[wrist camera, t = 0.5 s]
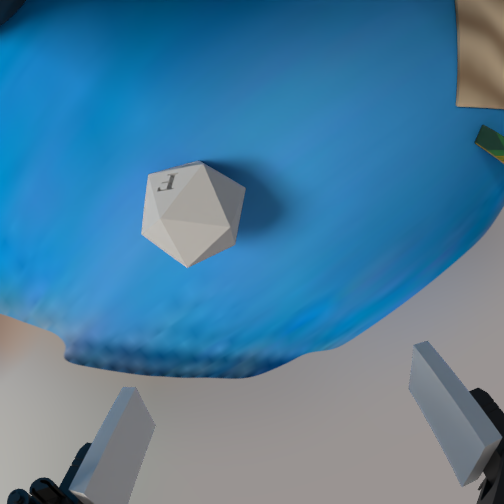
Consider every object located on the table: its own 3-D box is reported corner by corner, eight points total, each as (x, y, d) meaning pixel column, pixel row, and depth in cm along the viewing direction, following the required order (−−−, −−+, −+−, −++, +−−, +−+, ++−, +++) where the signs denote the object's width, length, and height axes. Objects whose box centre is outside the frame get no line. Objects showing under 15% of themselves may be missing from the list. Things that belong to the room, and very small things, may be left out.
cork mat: (447, -45, 13) (450, -46, 13) (528, -7, 13) (530, -6, 13) (455, 105, 25) (458, 106, 25) (527, 110, 25) (529, 111, 25)
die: (251, 155, 28) (204, 146, 19) (261, 246, 29) (220, 278, 20) (175, 167, 30) (111, 168, 21) (186, 249, 32) (127, 277, 23)
